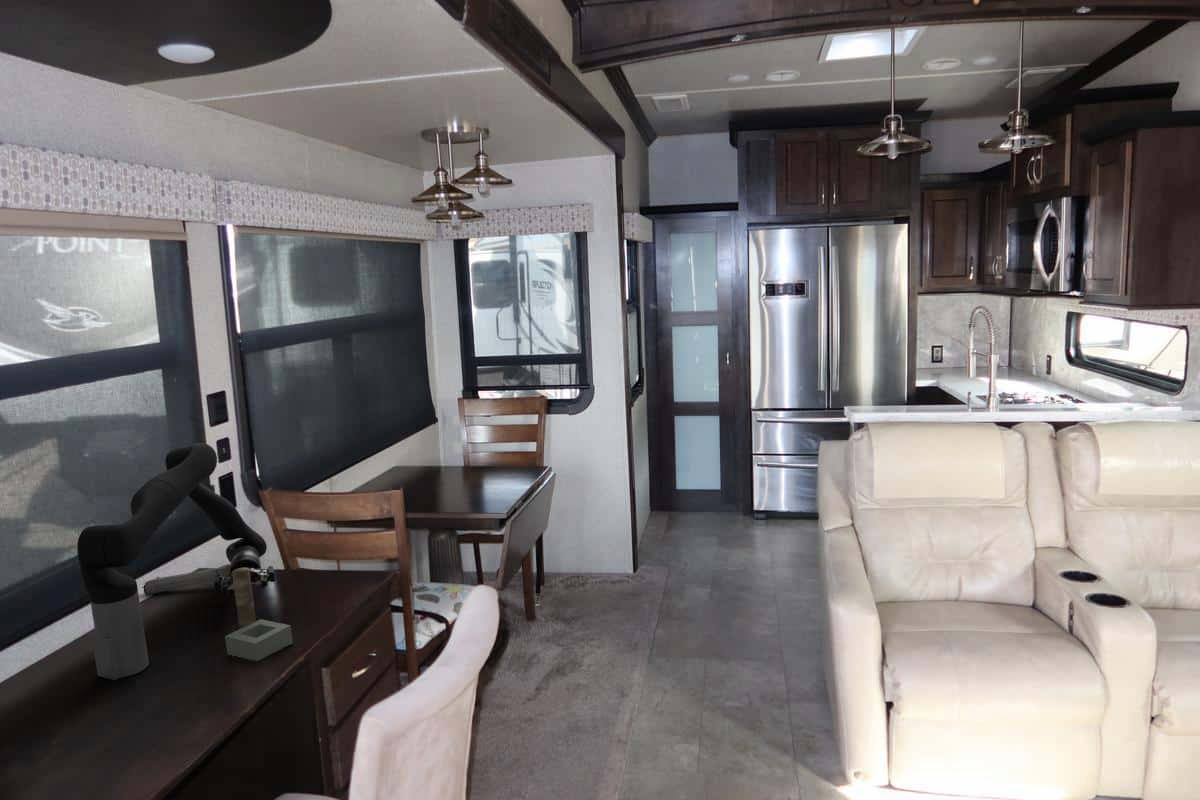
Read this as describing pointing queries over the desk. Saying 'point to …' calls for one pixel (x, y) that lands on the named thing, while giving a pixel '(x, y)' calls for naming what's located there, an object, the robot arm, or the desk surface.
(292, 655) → the desk surface
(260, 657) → the socket
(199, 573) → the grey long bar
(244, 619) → the peg
